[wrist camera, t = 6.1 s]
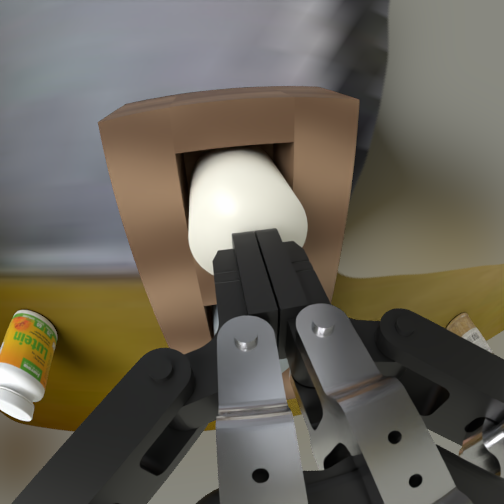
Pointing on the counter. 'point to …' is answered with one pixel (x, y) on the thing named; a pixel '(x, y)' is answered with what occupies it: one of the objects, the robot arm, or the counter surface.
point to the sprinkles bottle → (467, 331)
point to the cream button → (239, 201)
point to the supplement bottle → (25, 363)
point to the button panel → (179, 175)
